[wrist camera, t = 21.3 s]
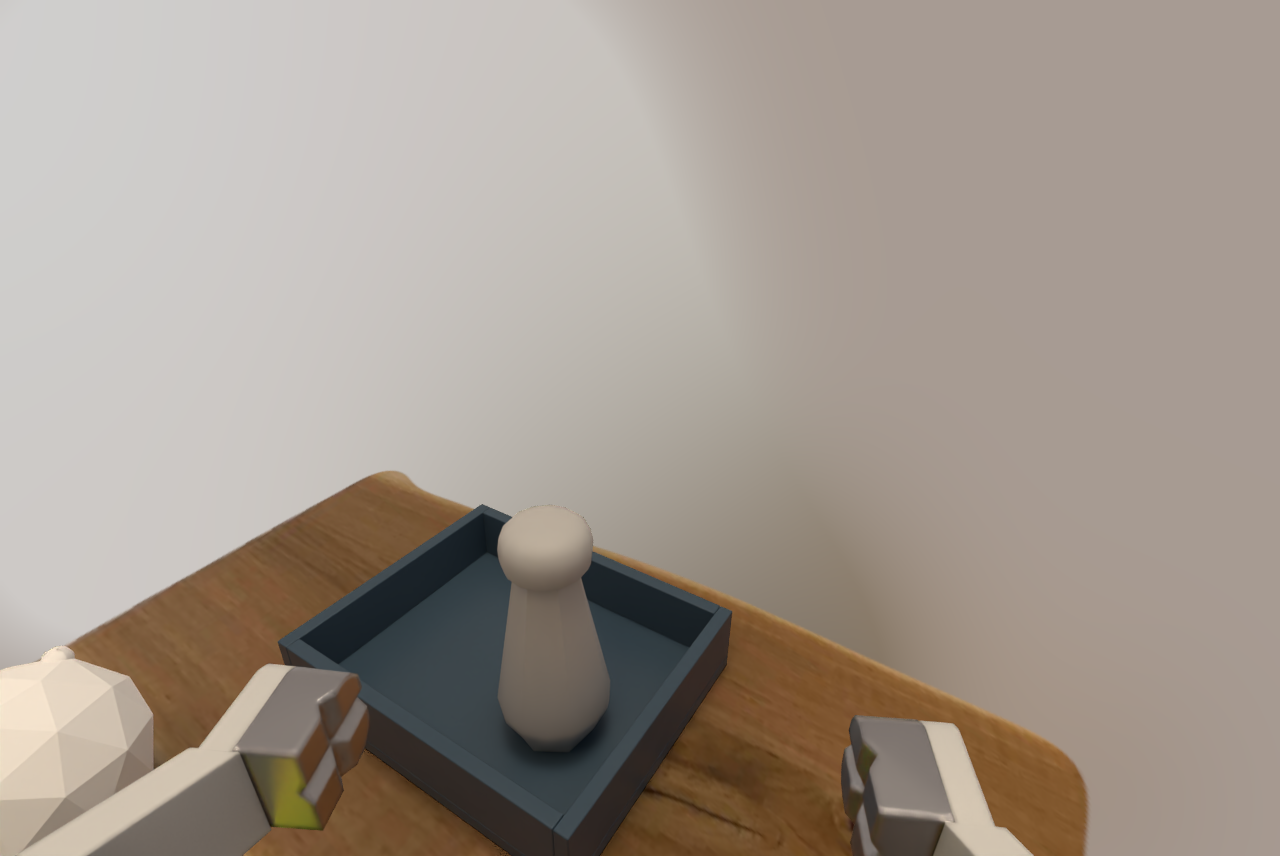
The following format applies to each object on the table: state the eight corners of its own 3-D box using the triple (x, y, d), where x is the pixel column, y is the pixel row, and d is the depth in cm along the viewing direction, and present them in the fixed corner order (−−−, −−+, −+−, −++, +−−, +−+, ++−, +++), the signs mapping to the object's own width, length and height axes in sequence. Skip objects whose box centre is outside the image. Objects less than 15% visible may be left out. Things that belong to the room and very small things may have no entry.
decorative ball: (35, 767, 37) (60, 579, 34) (177, 872, 34) (218, 680, 31) (-207, 898, 28) (-201, 664, 25) (-42, 1048, 26) (-14, 810, 23)
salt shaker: (632, 716, 37) (636, 520, 30) (555, 792, 33) (542, 584, 27) (557, 661, 40) (547, 474, 34) (479, 724, 36) (451, 526, 30)
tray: (726, 664, 41) (732, 610, 39) (571, 899, 29) (567, 840, 27) (487, 551, 50) (482, 503, 48) (294, 696, 38) (276, 641, 36)
